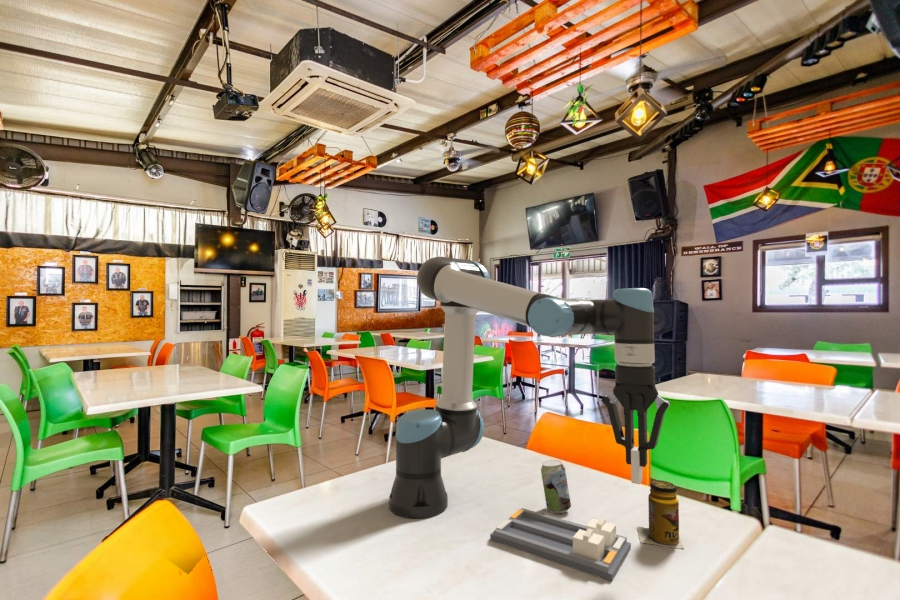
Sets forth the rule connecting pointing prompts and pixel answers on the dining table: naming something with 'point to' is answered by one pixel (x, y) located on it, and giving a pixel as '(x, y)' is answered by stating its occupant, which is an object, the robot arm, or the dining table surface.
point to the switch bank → (557, 542)
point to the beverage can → (555, 486)
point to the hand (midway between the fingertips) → (637, 481)
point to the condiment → (662, 516)
